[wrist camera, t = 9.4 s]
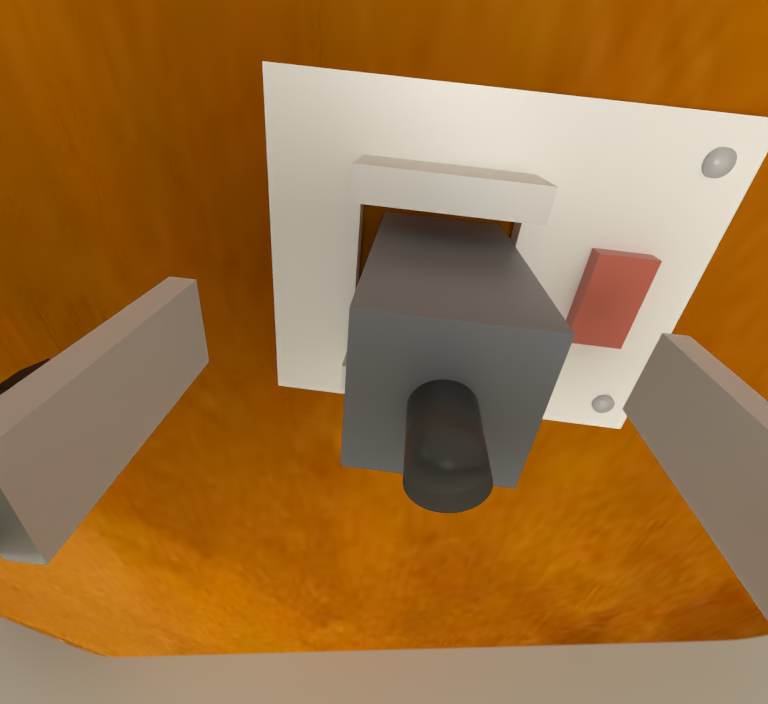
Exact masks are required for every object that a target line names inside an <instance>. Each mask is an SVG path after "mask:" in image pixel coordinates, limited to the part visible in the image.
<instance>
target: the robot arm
mask: <svg viewBox="0 0 768 704" xmlns="http://www.w3.org/2000/svg"><path fill="white" fill-rule="evenodd" d="M208 363H209V356H208V350H207V344H206V337H205V331H204V325H203V318H202V312H201V306H200V299H199V293H198V287H197V280H196V279H187V278H178V277H170V276H169V277H168V278H166V279H165V280H164V281H162V282H161V283H159V284H158V285H156V286H155V287H154V288H152V289H151V290H149V291H148V292H146V293H145V294H144V295H142V296H141V297H139V298H138V299H136V300H135V301H134V302H132V303H131V304H129V305H128V306H126V307H125V308H124V309H122V310H121V311H119V312H118V313H117V314H115V315H114V316H112V317H111V318H109V319H108V320H107V321H105V322H104V323H102V324H101V325H99V326H98V327H97V328H95V329H94V330H92V331H91V332H89V333H88V334H87V335H85V336H84V337H82V338H81V339H79V340H78V341H77V342H75V343H74V344H72V345H71V346H70V347H68V348H67V349H65V350H64V351H62V352H61V353H60V354H58V355H57V356H55V357H54V358H52V359H46V360H44V361H42V362H39V363H37V364H35V365H32V366H30V367H27V368H25V369H23V370H20V371H19V372H17V373H16V374H14V375H13V376H11V377H10V378H8V379H7V380H5V381H4V382H2V383H1V384H0V555H1V556H2V558H3V559H4V560H7V561H16V562H24V563H33V564H41V565H48V563H49V562H50V561H51V560H52V558H53V557H54V556H55V555H56V553H57V552H58V551H59V550H60V548H61V547H62V546H63V545H64V543H65V542H66V541H67V540H68V538H69V537H70V536H71V535H72V533H73V532H74V531H75V529H76V528H77V527H78V526H79V524H80V523H81V522H82V521H83V519H84V518H85V517H86V516H87V514H88V513H89V512H90V511H91V509H92V508H93V507H94V506H95V504H96V503H97V502H98V501H99V499H100V498H101V497H102V496H103V494H104V493H105V492H106V491H107V489H108V488H109V487H110V486H111V484H112V483H113V482H114V481H115V479H116V478H117V477H118V475H119V474H120V473H121V472H122V470H123V469H124V468H125V467H126V465H127V464H128V463H129V462H130V460H131V459H132V458H133V457H134V455H135V454H136V453H137V452H138V450H139V449H140V448H141V447H142V445H143V444H144V443H145V442H146V440H147V439H148V438H149V437H150V435H151V434H152V433H153V432H154V430H155V429H156V428H157V427H158V425H159V424H160V423H161V422H162V420H163V419H164V418H165V416H166V415H167V414H168V413H169V411H170V410H171V409H172V408H173V406H174V405H175V404H176V403H177V401H178V400H179V399H180V398H181V396H182V395H183V394H184V393H185V391H186V390H187V389H188V388H189V386H190V385H191V384H192V383H193V381H194V380H195V379H196V378H197V376H198V375H199V374H200V373H201V371H202V370H203V369H204V368H205V366H206V365H207V364H208ZM623 411H624V412H625V414H626V415H627V417H628V418H629V419H630V421H631V422H632V424H633V425H634V427H635V428H636V430H637V431H638V433H639V434H640V436H641V437H642V438H643V440H644V441H645V443H646V444H647V446H648V447H649V449H650V450H651V452H652V453H653V454H654V456H655V457H656V459H657V460H658V462H659V463H660V465H661V466H662V468H663V469H664V471H665V472H666V473H667V475H668V476H669V478H670V479H671V481H672V482H673V484H674V485H675V487H676V488H677V490H678V491H679V492H680V494H681V495H682V497H683V498H684V500H685V501H686V503H687V504H688V506H689V507H690V508H691V510H692V511H693V513H694V514H695V516H696V517H697V519H698V520H699V522H700V523H701V525H702V526H703V527H704V529H705V530H706V532H707V533H708V535H709V536H710V538H711V539H712V541H713V542H714V544H715V545H716V546H717V548H718V549H719V551H720V552H721V554H722V555H723V557H724V558H725V560H726V561H727V562H728V564H729V565H730V567H731V568H732V570H733V571H734V573H735V574H736V576H737V577H738V579H739V580H740V581H741V583H742V584H743V586H744V587H745V589H746V590H747V592H748V593H749V595H750V596H751V598H752V599H753V600H754V602H755V603H756V605H757V606H758V608H759V609H760V611H761V612H762V614H763V615H764V616H765V618H766V619H767V621H768V401H767V400H765V399H764V398H763V397H762V396H761V395H759V394H758V393H757V392H756V391H755V390H753V389H752V388H751V387H750V386H749V385H748V384H746V383H745V382H744V381H743V380H742V379H740V378H739V377H738V376H737V375H736V374H734V373H733V372H732V371H731V370H730V369H728V368H727V367H726V366H725V365H724V364H722V363H721V362H720V361H719V360H718V359H716V358H715V357H714V356H713V355H712V354H711V353H709V352H708V351H707V350H706V349H705V348H703V347H702V346H701V345H700V344H699V343H697V342H696V341H695V340H694V339H693V338H691V337H690V336H685V335H676V334H668V333H662V335H661V336H660V338H659V340H658V342H657V344H656V346H655V348H654V350H653V352H652V354H651V355H650V357H649V359H648V361H647V363H646V365H645V367H644V369H643V371H642V373H641V374H640V376H639V378H638V380H637V382H636V384H635V386H634V388H633V390H632V392H631V394H630V395H629V397H628V399H627V401H626V403H625V405H624V407H623Z"/></svg>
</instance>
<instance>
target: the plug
mask: <svg viewBox="0 0 768 704" xmlns="http://www.w3.org/2000/svg"><path fill="white" fill-rule="evenodd" d="M574 336H575V334H574V332H573V331H572V329H571V328H570V326H569V325H568V323H567V322H566V320H565V319H564V317H563V316H562V314H561V313H560V312H559V310H558V309H557V307H556V306H555V304H554V303H553V301H552V300H551V298H550V297H549V295H548V294H547V292H546V291H545V290H544V288H543V287H542V285H541V284H540V282H539V281H538V279H537V278H536V276H535V275H534V273H533V272H532V270H531V269H530V267H529V266H528V265H527V263H526V262H525V260H524V259H523V257H522V256H521V254H520V253H519V251H518V250H517V248H516V247H515V245H514V244H513V243H512V241H511V240H510V238H509V237H508V235H507V234H506V232H505V231H504V229H503V228H502V226H501V225H500V224H493V223H484V222H475V221H467V220H458V219H450V218H441V217H433V216H424V215H416V214H407V213H399V212H390V211H385V213H384V215H383V218H382V221H381V223H380V226H379V229H378V231H377V234H376V237H375V240H374V242H373V245H372V248H371V250H370V253H369V256H368V258H367V261H366V264H365V266H364V269H363V272H362V275H361V277H360V280H359V283H358V285H357V288H356V291H355V293H354V296H353V299H352V301H351V304H350V307H349V324H348V342H347V360H346V378H345V396H344V414H343V432H342V450H341V466H348V467H356V468H363V469H371V470H379V471H386V472H394V473H402V474H403V487H404V490H405V492H406V494H407V495H408V497H409V498H410V499H411V500H412V501H413V502H415V503H416V504H417V505H419V506H421V507H423V508H425V509H428V510H431V511H434V512H440V513H457V512H463V511H466V510H469V509H472V508H474V507H476V506H478V505H479V504H481V503H482V502H483V501H485V500H486V498H487V497H488V496H489V494H490V493H491V490H492V487H493V486H501V487H509V488H515V487H516V485H517V482H518V480H519V477H520V475H521V472H522V469H523V467H524V464H525V462H526V459H527V457H528V454H529V452H530V449H531V446H532V444H533V441H534V439H535V436H536V434H537V431H538V428H539V426H540V423H541V421H542V418H543V416H544V413H545V411H546V408H547V405H548V403H549V400H550V398H551V395H552V393H553V390H554V387H555V385H556V382H557V380H558V377H559V375H560V372H561V369H562V367H563V364H564V362H565V359H566V357H567V354H568V352H569V349H570V346H571V344H572V341H573V339H574Z"/></svg>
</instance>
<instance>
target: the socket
mask: <svg viewBox="0 0 768 704" xmlns="http://www.w3.org/2000/svg"><path fill="white" fill-rule="evenodd" d="M262 66H263V86H264V106H265V127H266V147H267V167H268V188H269V208H270V228H271V248H272V269H273V289H274V309H275V329H276V350H277V370H278V386H286V387H294V388H302V389H310V390H318V391H326V392H333V393H341V394H345V378H346V360H347V342H348V324H349V307H350V304H351V301H352V299H353V296H354V293H355V291H356V288H357V285H358V283H359V270H360V255H361V240H362V225H363V211H364V204H366V205H374V206H383V207H391V208H400V209H408V210H416V211H425V212H433V213H442V214H450V215H459V216H467V217H476V218H484V219H493V220H501V221H510V222H514V226H513V230H512V234H511V237H510V240H511V241H512V243H513V244H514V245H515V247H516V248H517V250H518V251H519V253H520V254H521V256H522V257H523V259H524V260H525V262H526V263H527V265H528V266H529V267H530V269H531V270H532V272H533V273H534V275H535V276H536V278H537V279H538V281H539V282H540V284H541V285H542V287H543V288H544V290H545V291H546V292H547V294H548V295H549V297H550V298H551V300H552V301H553V303H554V304H555V306H556V307H557V309H558V310H559V312H560V313H561V314H562V316H563V317H564V319H565V320H566V322H567V323H568V325H569V326H570V328H571V329H572V331H573V332H574V334H575V336H574V339H573V341H572V344H571V346H570V349H569V352H568V354H567V357H566V359H565V362H564V364H563V367H562V369H561V372H560V375H559V377H558V380H557V382H556V385H555V387H554V390H553V393H552V395H551V398H550V400H549V403H548V405H547V408H546V411H545V413H544V416H543V418H542V419H546V420H554V421H561V422H569V423H577V424H585V425H593V426H601V427H609V428H616V429H621V427H622V425H623V423H624V421H625V419H626V417H627V415H626V414H625V412H624V411H623V407H624V405H625V403H626V401H627V399H628V397H629V395H630V394H631V392H632V390H633V388H634V386H635V384H636V382H637V380H638V378H639V376H640V374H641V373H642V371H643V369H644V367H645V365H646V363H647V361H648V359H649V357H650V355H651V354H652V352H653V350H654V348H655V346H656V344H657V342H658V340H659V338H660V336H661V335H662V333H668V334H671V333H672V331H673V329H674V327H675V325H676V323H677V322H678V320H679V318H680V316H681V314H682V312H683V310H684V308H685V306H686V305H687V303H688V301H689V299H690V297H691V295H692V293H693V291H694V290H695V288H696V286H697V284H698V282H699V280H700V278H701V276H702V274H703V273H704V271H705V269H706V267H707V265H708V263H709V261H710V259H711V258H712V256H713V254H714V252H715V250H716V248H717V246H718V244H719V242H720V241H721V239H722V237H723V235H724V233H725V231H726V229H727V227H728V226H729V224H730V222H731V220H732V218H733V216H734V214H735V212H736V211H737V209H738V207H739V205H740V203H741V201H742V199H743V197H744V195H745V194H746V192H747V190H748V188H749V186H750V184H751V182H752V180H753V179H754V177H755V175H756V173H757V171H758V169H759V167H760V165H761V163H762V162H763V160H764V158H765V156H766V154H767V152H768V117H760V116H751V115H742V114H733V113H724V112H715V111H706V110H697V109H688V108H679V107H670V106H661V105H652V104H643V103H634V102H625V101H616V100H607V99H598V98H589V97H580V96H571V95H562V94H553V93H544V92H535V91H526V90H517V89H508V88H499V87H490V86H481V85H472V84H463V83H454V82H445V81H436V80H427V79H418V78H409V77H400V76H391V75H382V74H373V73H364V72H355V71H346V70H337V69H328V68H319V67H310V66H301V65H292V64H283V63H274V62H265V61H262Z"/></svg>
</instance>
